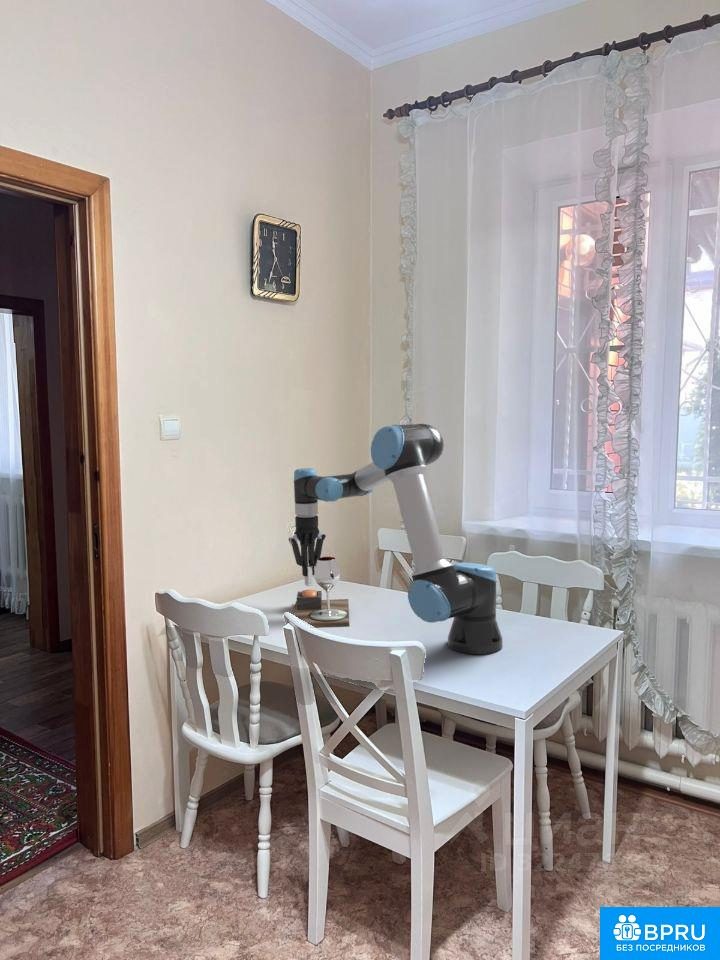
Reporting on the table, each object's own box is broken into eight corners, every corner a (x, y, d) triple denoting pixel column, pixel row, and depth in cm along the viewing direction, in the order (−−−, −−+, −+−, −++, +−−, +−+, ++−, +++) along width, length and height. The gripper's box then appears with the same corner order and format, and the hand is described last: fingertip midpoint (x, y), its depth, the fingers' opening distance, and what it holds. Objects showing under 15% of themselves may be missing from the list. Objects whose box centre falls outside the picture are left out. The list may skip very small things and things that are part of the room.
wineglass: (341, 617, 225) (339, 561, 223) (315, 618, 225) (312, 562, 223) (341, 609, 233) (339, 555, 231) (316, 610, 233) (313, 556, 231)
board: (349, 626, 221) (348, 609, 220) (290, 628, 220) (290, 611, 220) (348, 602, 247) (347, 587, 246) (296, 604, 246) (295, 589, 246)
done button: (316, 602, 237) (316, 593, 236) (301, 603, 237) (301, 593, 236) (317, 598, 242) (316, 589, 241) (302, 599, 242) (302, 589, 241)
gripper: (318, 511, 242) (320, 580, 245) (283, 515, 236) (286, 585, 238) (329, 514, 236) (331, 584, 239) (293, 518, 229) (296, 590, 232)
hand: (308, 585), depth 239 cm, fingers closed
